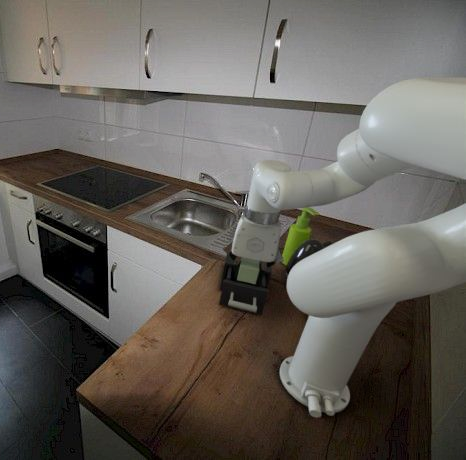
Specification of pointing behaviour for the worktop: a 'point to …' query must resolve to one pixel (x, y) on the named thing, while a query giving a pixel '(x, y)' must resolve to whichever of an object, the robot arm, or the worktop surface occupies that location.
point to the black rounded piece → (305, 252)
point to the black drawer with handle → (244, 294)
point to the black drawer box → (231, 263)
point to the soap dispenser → (298, 234)
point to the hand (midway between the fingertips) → (246, 276)
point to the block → (248, 270)
